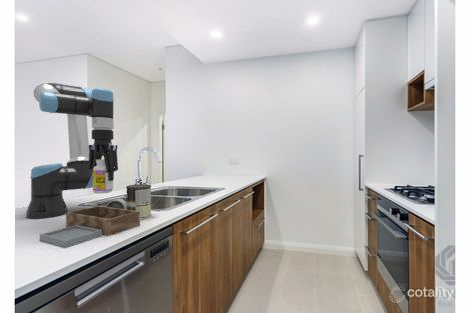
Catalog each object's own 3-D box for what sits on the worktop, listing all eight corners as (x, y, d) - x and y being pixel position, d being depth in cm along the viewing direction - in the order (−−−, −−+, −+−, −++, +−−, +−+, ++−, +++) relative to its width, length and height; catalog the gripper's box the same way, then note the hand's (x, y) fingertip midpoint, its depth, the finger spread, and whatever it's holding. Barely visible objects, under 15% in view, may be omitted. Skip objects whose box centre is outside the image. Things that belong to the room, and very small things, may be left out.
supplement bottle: (92, 194, 94) (92, 159, 93) (93, 191, 99) (93, 159, 99) (112, 193, 97) (112, 159, 96) (112, 190, 103) (112, 159, 102)
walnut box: (66, 226, 97) (66, 212, 97) (99, 218, 109) (99, 205, 109) (108, 235, 86) (108, 219, 86) (139, 225, 99) (139, 211, 99)
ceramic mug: (128, 212, 120) (127, 196, 119) (124, 217, 112) (123, 200, 111) (104, 214, 117) (103, 198, 117) (98, 218, 109) (97, 201, 109)
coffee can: (122, 220, 106) (122, 187, 106) (131, 214, 116) (130, 184, 116) (147, 220, 107) (147, 187, 107) (153, 214, 117) (153, 184, 117)
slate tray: (39, 240, 82) (39, 234, 82) (76, 230, 92) (76, 225, 92) (65, 247, 76) (65, 241, 76) (101, 235, 86) (101, 230, 86)
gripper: (77, 129, 98) (77, 187, 99) (111, 128, 90) (111, 191, 90) (95, 130, 105) (95, 185, 106) (128, 129, 97) (128, 189, 97)
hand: (102, 188), depth 98 cm, fingers closed on supplement bottle, 7 cm apart
